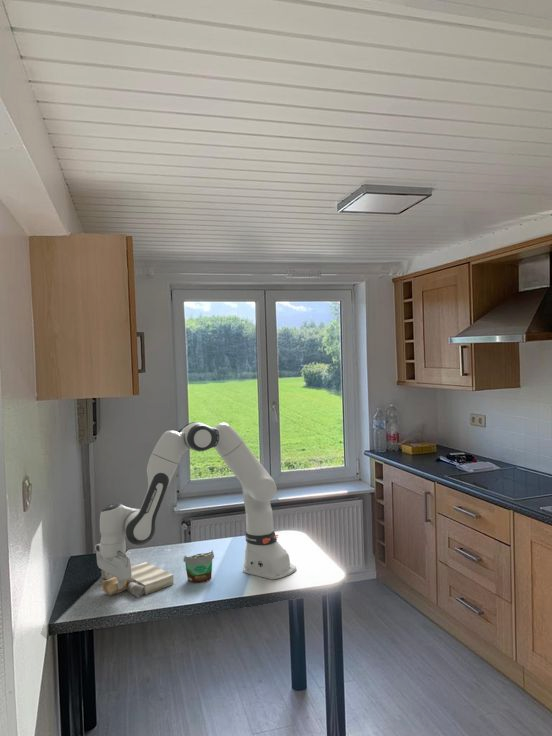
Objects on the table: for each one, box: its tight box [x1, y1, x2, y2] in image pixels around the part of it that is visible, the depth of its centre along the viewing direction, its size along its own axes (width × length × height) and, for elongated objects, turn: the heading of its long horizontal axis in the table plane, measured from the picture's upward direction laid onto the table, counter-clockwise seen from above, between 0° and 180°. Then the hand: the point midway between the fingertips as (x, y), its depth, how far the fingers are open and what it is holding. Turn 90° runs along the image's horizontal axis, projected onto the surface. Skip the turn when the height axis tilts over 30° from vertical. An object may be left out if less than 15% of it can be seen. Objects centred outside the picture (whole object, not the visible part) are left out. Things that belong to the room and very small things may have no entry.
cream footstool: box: [112, 561, 174, 598], centre depth 197 cm, size 20×16×4 cm
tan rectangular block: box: [101, 577, 135, 596], centre depth 190 cm, size 6×10×4 cm, turn 135°
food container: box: [183, 550, 215, 584], centre depth 198 cm, size 12×6×10 cm, turn 117°
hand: (114, 585), depth 189 cm, fingers closed on tan rectangular block, 6 cm apart
